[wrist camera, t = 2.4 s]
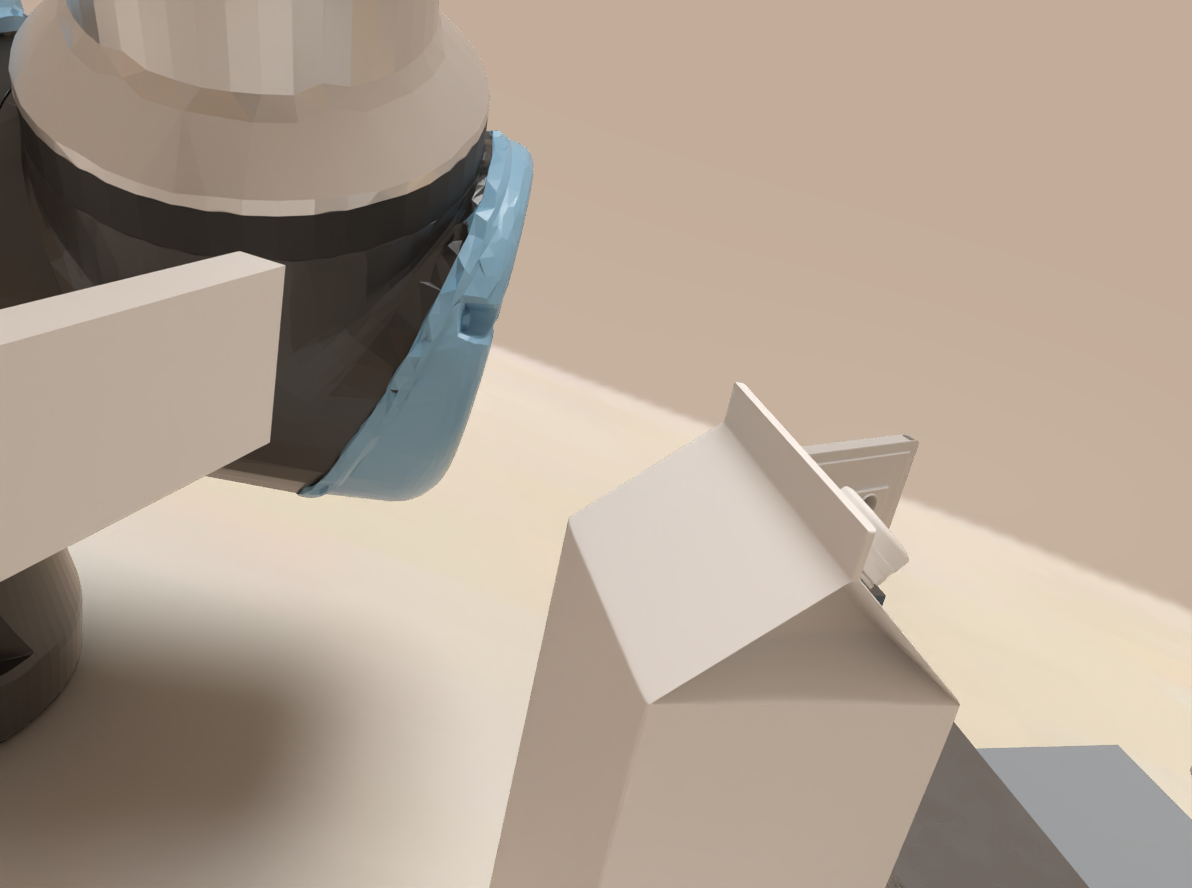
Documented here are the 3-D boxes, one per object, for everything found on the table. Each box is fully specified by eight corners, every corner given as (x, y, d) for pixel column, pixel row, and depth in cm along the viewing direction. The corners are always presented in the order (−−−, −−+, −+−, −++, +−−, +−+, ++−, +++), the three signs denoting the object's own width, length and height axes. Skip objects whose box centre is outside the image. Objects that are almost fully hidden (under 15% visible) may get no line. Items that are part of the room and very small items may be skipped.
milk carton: (514, 1193, 26) (695, 520, 19) (474, 949, 33) (598, 367, 25) (776, 1158, 29) (1033, 540, 21) (691, 934, 35) (867, 394, 27)
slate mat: (899, 765, 45) (905, 750, 45) (1110, 759, 48) (1117, 744, 48) (1129, 1087, 33) (1140, 1069, 32) (1388, 1047, 36) (1400, 1031, 36)
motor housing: (674, 717, 45) (715, 574, 42) (823, 715, 47) (871, 579, 44) (992, 1373, 25) (1109, 1184, 22) (1224, 1316, 27) (1356, 1138, 24)
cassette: (730, 600, 54) (770, 465, 51) (707, 581, 56) (744, 447, 53) (885, 565, 61) (928, 443, 58) (861, 548, 63) (902, 429, 60)
